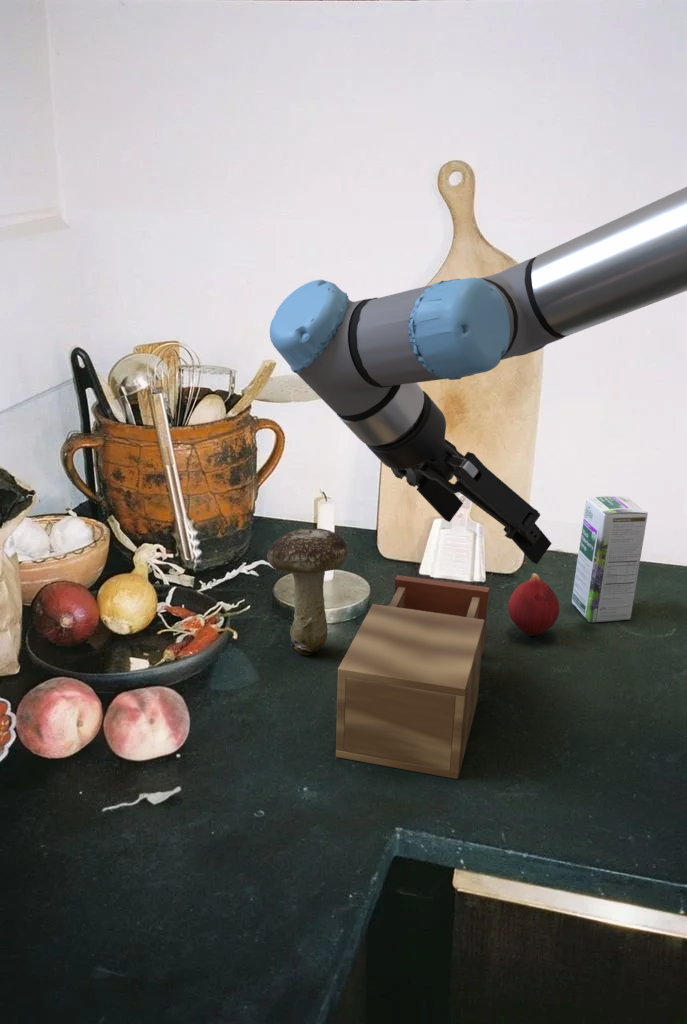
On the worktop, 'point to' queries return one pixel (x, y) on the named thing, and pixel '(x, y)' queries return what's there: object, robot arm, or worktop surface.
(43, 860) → the worktop surface
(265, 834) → the worktop surface
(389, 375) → the robot arm
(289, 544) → the mushroom
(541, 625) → the onion
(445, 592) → the drawer
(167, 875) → the worktop surface
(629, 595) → the syrup box
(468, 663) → the cabinet
